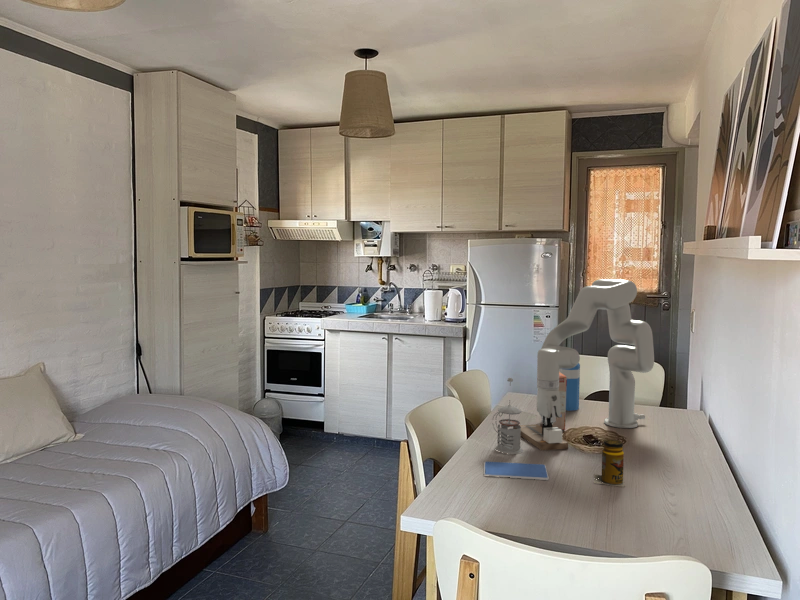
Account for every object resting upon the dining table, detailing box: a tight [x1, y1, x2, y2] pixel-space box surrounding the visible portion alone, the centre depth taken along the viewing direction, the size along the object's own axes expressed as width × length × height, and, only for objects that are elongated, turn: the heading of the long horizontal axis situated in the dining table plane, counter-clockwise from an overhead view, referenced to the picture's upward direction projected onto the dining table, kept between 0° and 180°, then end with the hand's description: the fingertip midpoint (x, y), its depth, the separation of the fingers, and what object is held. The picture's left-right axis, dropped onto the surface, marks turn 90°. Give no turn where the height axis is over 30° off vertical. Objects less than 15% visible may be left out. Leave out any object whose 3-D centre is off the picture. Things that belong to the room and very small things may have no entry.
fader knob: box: [543, 427, 563, 443], centre depth 206 cm, size 5×4×4 cm
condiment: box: [593, 439, 626, 488], centre depth 175 cm, size 7×8×12 cm
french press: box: [492, 377, 524, 455], centre depth 204 cm, size 10×12×25 cm
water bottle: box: [559, 362, 581, 412], centre depth 261 cm, size 9×9×25 cm
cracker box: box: [552, 372, 567, 431], centre depth 234 cm, size 14×6×21 cm, turn 179°
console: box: [512, 423, 569, 451], centre depth 216 cm, size 10×24×2 cm, turn 13°
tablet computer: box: [483, 461, 550, 481], centre depth 183 cm, size 19×13×1 cm, turn 81°
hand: (547, 435), depth 210 cm, fingers closed
